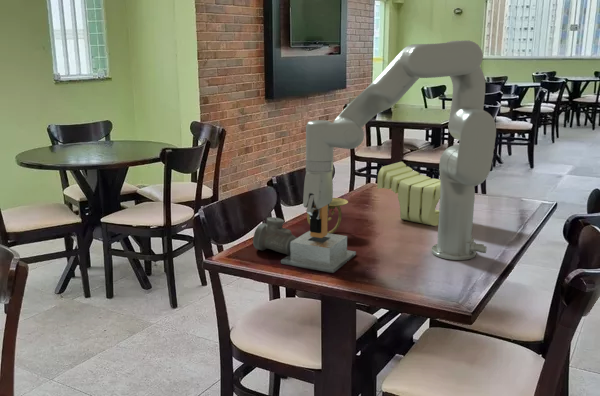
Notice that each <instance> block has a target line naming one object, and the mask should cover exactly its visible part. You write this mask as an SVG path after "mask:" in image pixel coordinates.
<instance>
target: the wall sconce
mask: <svg viewBox="0 0 600 396" xmlns="http://www.w3.org/2000/svg"><path fill="white" fill-rule="evenodd" d="M333 172H334V171H333ZM333 172H332V174H333ZM347 204H349V201H348V199H345V198H340V197H333V198H332V202H331V203H330V205H329V208H328V210H329V211H330V210H331V211H330V213H331V216H335V212H336V210H334V209H335V208H336V209H337V211H338V217H337V218H338V219H337V223H336V224H335V226H334V227H333V228H332V229H331V230H329V231H327V233H330V234H334V233H335V232H336V231H337V229H338V228H339V226H340V224H341V222H342V216H343V215H342V209H341V206H345V205H347ZM306 213H307V212H306ZM306 219H307V223H308V224H309V226H310V218H309V214H308V213H307V214H306ZM332 219H333V218H332V217H329V216H328V222H329V221H331V220H332Z"/></svg>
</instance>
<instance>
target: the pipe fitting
mask: <svg viewBox="0 0 600 396" xmlns="http://www.w3.org/2000/svg"><path fill="white" fill-rule="evenodd" d="M284 223H285V220H284V219H282V218H280V217H273V216H271V217H266V223H265V222H263V223H260V224H258V225H257V227H256V228H255V230H254V233H253V238H252V244H253V247H254V248H255V249H256V250H259V251H265V250H270V251H271V250H272V251H274V252H278V253H281V254H284V255H286V256H288V255H290V254H291V251H290V242H291V241H293V240H295V239H296V238H297V236H295V235H294V234H293V233H292V231H291V230H290V229H288V228H284V227H283V225H284Z"/></svg>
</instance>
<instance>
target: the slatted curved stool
mask: <svg viewBox="0 0 600 396" xmlns="http://www.w3.org/2000/svg"><path fill="white" fill-rule="evenodd" d="M378 189H386V190H391V191H392V192H393V193H395V194H397V199H398V202H399V203H398V204H399V209H400V213H399V215H400V219H401V220H403V221H404V220H405V221H409V222H414V223H419V224H424V225H429V226H434V227H436V226H438V223H439V209H436V207H437V205H438V203H440V178H435V177H434V178H431V177H429V176H427V175H425V174H422V173H421V174H420V172H419V171H416V170H413V168H412V167H410V166H407V164H406V163H404V161H399V162H395V163H391V164H388V165H384V166H381V168H380V169H379V171H378V173H377V190H378Z"/></svg>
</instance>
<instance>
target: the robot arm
mask: <svg viewBox="0 0 600 396" xmlns="http://www.w3.org/2000/svg"><path fill="white" fill-rule="evenodd" d="M483 58H484V54H483V50H482V48H481V47H480V45H479V44H477V43H476V42H474V41H473V40H451V41H447V42H440V43H415V44H409V45H407V46H405V47H404V48H403V49H402V50H400V52H399V53H397V55H395V57H394V58H393V59H392V60H391V61H390V62H389V64H388V65H387V66H386V67H385V68H384V69H383V70H382V72H380V74H379V75H378V76H377V77H376V78H375V79H374V80H373V81H372V82H371V83H370V84H369V85H368V86H367V87H366V88H364V90H363V91H362V92H361V93H359V94H358V95H357V96H356V97H355V98H354V99H353V100H352V101H350V102H349V104H348V105H347V106H346V107H345V108H344V109H343V110H342V111H341V112H340V113H339V114H338V116H336V118H335V119H334V120H333V122H332V121H329V120H325V119H324V120H323V119H322V120H321V119H320V120H319V119H318V120H317V119H315V120H310V121H308V122H307V123H306V125H305V177H304V181H303V182H304V184H303V198H302V199H303V200H302V201H303V202H302V203H303V204H302V205H303V207H304V208H306V213H308V214H309V218H310V225H309V231H310V232H315V233H321V219H320V211H321V208H322V207H324V206H326V205H328V208H329V205H330V203H331V202H332V198H334V197H333V196H334V191H333V189H334V187H333V186H334V185H333V184H334V183H333V173H332V172H334V149H335V148H337V149H346V150H352V149H356V148H357V147H359V146H360V145H361V144H362V143H363V141H364V140H365V139H364V138H365V133H364V129H363V127H364V126H365V125H366V124H368V122H369V121H371V119H373V118H374V117H376V115H378V114H380V113H382V112H384V111H386V110H389V109H390V108H393V106H395V105H396V104H397V103H398V102H399V101H400V100H401V99H402V98H403V97H404V95H405V94H406V93H407V92H408V91H409V90H410V89H411V88H412V87H413V85H415V83H417V81H418V80H419V79H429V78H431V79H432V78H445V77H446V78H447V77H449V78H450V80H451V83H452V95H451V96H452V98H451V99H452V100H451V105H450V112H449V118H448V125H447V126H448V133H450V136H452V137H453V139H455V140H457V141H459V143H458V144H454V145H451V146H449V147H447V148H446V149H445V150H444V151H443V152H442V154H441V155H440V158H439V164H438V165H439V167H438V169H439V179H440V199H439V206H438V207H439V209H438V210H439V223H438V225H437V226H438V227H437V243H436V244H434V245H432V246H431V253H432V254H433V255H434V256H436V257H438V258H441V259H446V260H451V261H467V260H470V259H473V258H475V257H476V255H477V253H481V254H487V251H488V250H487V249H488V248H487V245H486V246H485V244H483V243H476V242H475V238H474V237H473V225H474V223H473V222H474V211H475V210H474V209H475V200H476V198H475V196H476V195H475V194H476V191H475V187H476V186H479V185H481V184H483V183H484V181H486V180H487V178H488V176H489V174H490V171H491V168H492V162H493V157H494V150H495V145H496V144H495V143H496V138H497V125H496V121H495V119H494V117H493V116H492V115H491V113H489V112H488V111H486V110H484V108H485V106H484V105H485V98H486V97H485V96H486V79H485V75H484V73H483V69H482V68H481V65H482V62H483V60H484V59H483ZM313 206H316V207H313ZM314 210H317V213H316V211H314ZM329 211H330V210H328V214H329ZM328 228H329V225H328V226H327V229H328Z"/></svg>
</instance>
